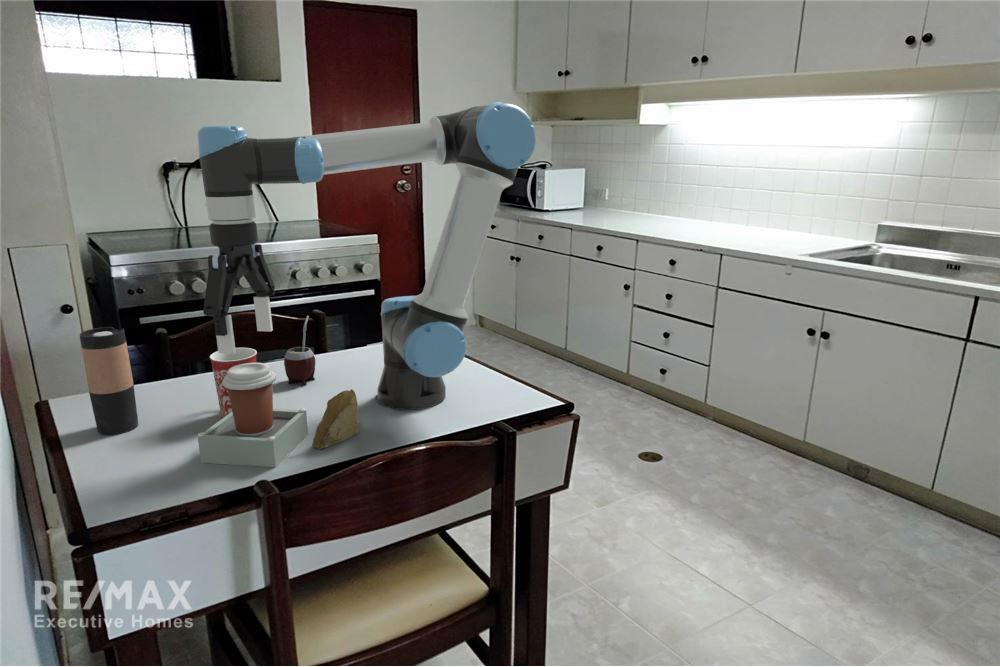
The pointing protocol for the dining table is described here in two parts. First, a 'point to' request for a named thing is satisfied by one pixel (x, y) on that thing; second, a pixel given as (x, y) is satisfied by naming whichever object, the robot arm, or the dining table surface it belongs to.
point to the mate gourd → (300, 363)
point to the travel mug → (109, 380)
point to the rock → (338, 420)
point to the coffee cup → (251, 398)
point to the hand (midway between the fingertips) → (247, 341)
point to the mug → (221, 367)
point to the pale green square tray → (253, 441)
